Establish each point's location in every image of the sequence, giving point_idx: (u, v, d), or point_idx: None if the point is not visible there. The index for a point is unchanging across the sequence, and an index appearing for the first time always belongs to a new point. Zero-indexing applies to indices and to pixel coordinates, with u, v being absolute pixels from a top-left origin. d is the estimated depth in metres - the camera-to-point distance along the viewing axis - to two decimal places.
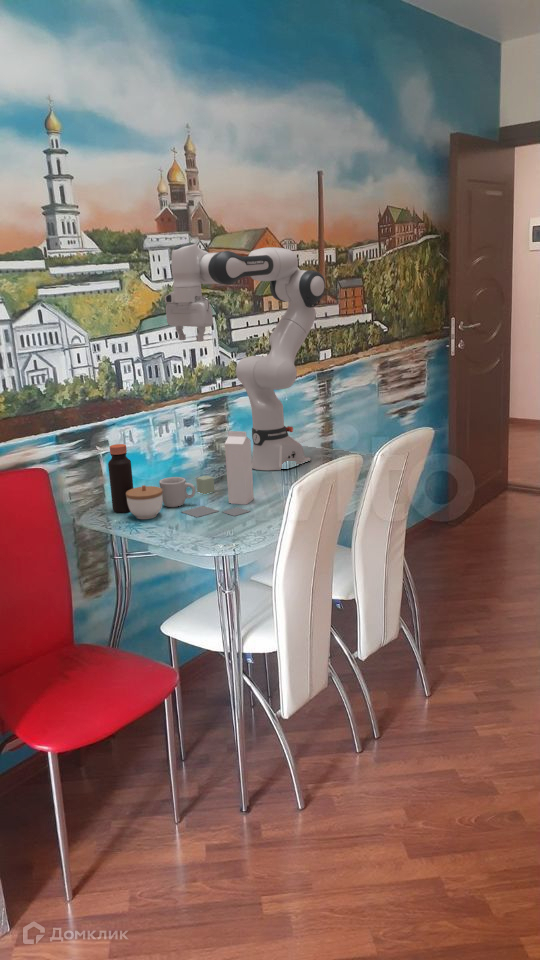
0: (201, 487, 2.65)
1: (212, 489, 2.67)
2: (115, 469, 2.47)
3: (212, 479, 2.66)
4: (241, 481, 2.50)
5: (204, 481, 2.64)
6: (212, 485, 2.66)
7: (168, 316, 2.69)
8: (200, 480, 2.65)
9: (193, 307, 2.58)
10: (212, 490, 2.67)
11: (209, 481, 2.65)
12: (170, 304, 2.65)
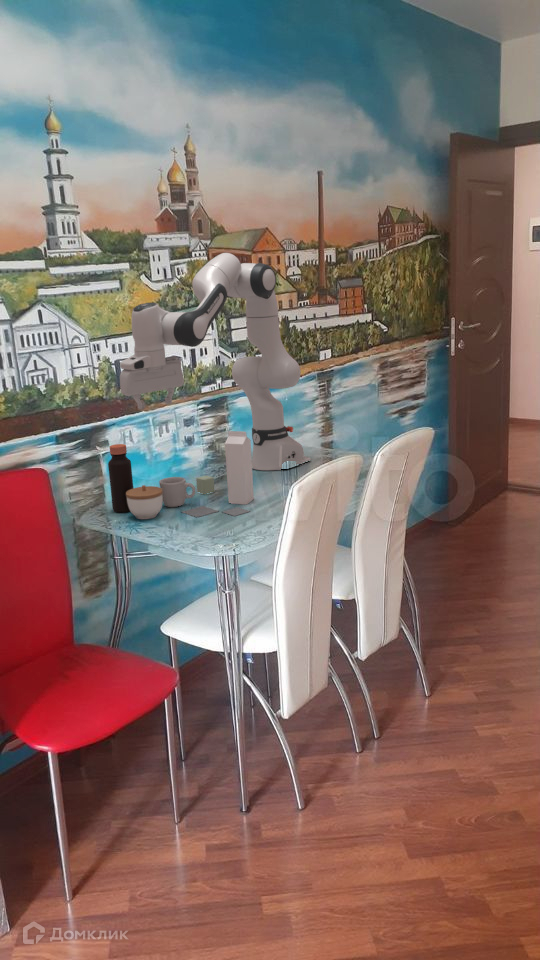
0: (201, 487, 2.65)
1: (212, 489, 2.67)
2: (115, 469, 2.47)
3: (212, 479, 2.66)
4: (241, 481, 2.50)
5: (204, 481, 2.64)
6: (212, 485, 2.66)
7: (130, 385, 2.39)
8: (200, 480, 2.65)
9: (168, 368, 2.46)
10: (212, 490, 2.67)
11: (209, 481, 2.65)
12: (138, 371, 2.39)
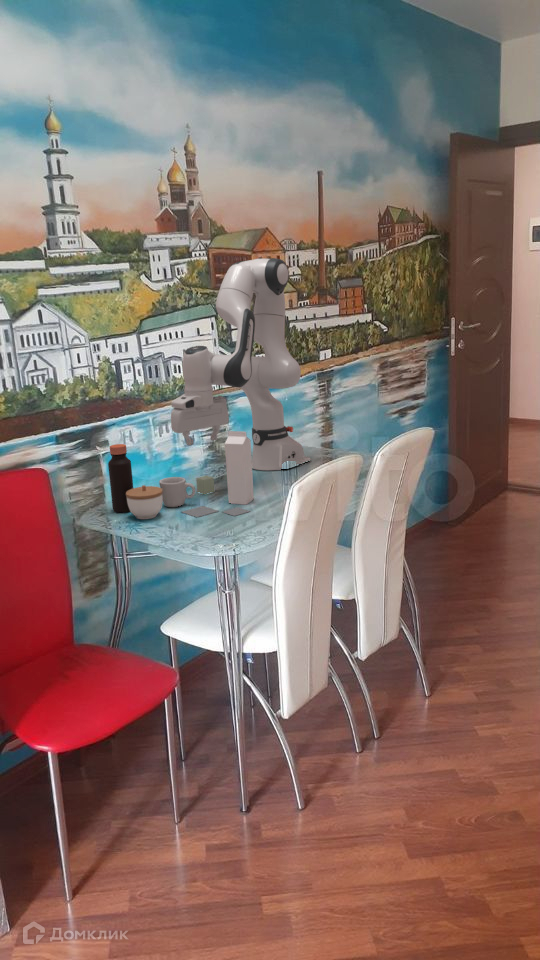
0: (201, 487, 2.65)
1: (212, 489, 2.67)
2: (115, 469, 2.47)
3: (212, 479, 2.66)
4: (241, 481, 2.50)
5: (204, 481, 2.64)
6: (212, 485, 2.66)
7: (181, 423, 2.55)
8: (200, 480, 2.65)
9: (215, 407, 2.62)
10: (212, 490, 2.67)
11: (209, 481, 2.65)
12: (189, 410, 2.55)
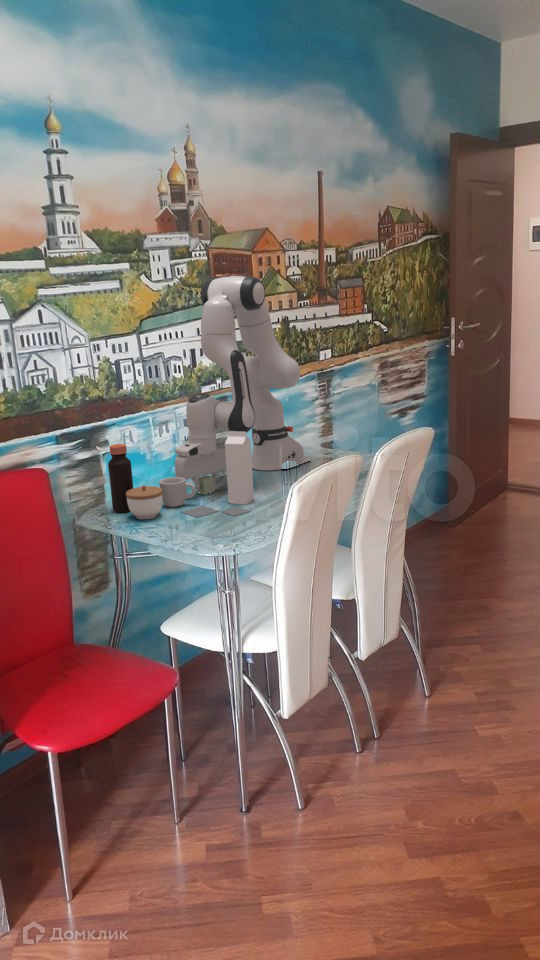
0: None
1: (212, 489, 2.67)
2: (115, 469, 2.47)
3: (212, 479, 2.66)
4: (241, 481, 2.50)
5: (204, 481, 2.64)
6: (212, 485, 2.66)
7: (185, 470, 2.58)
8: (200, 480, 2.65)
9: (219, 453, 2.66)
10: (212, 490, 2.67)
11: (209, 481, 2.65)
12: (192, 457, 2.59)
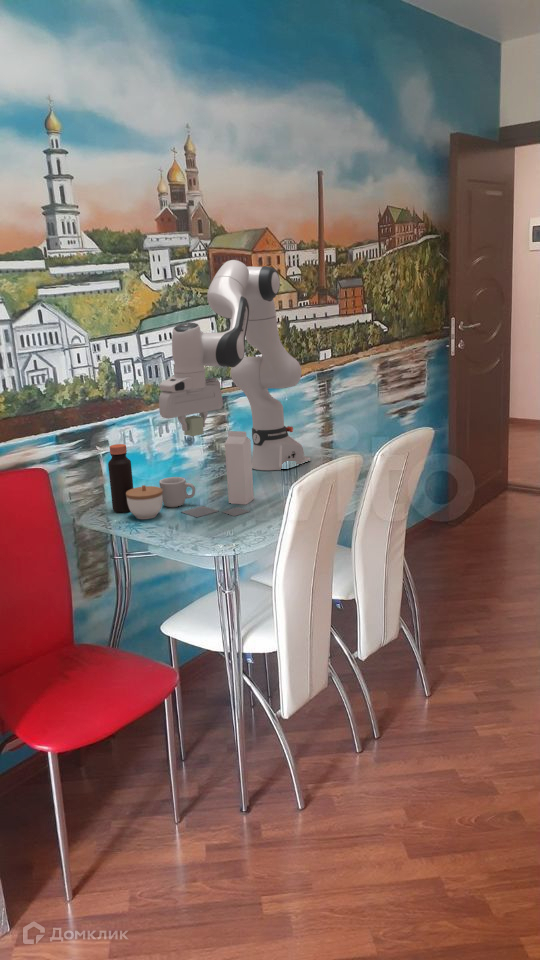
0: None
1: (201, 430, 2.40)
2: (115, 469, 2.47)
3: (201, 419, 2.39)
4: (241, 481, 2.50)
5: (192, 420, 2.37)
6: (201, 426, 2.40)
7: (170, 407, 2.32)
8: (187, 420, 2.38)
9: (208, 390, 2.40)
10: (201, 431, 2.40)
11: (197, 421, 2.39)
12: (178, 393, 2.32)
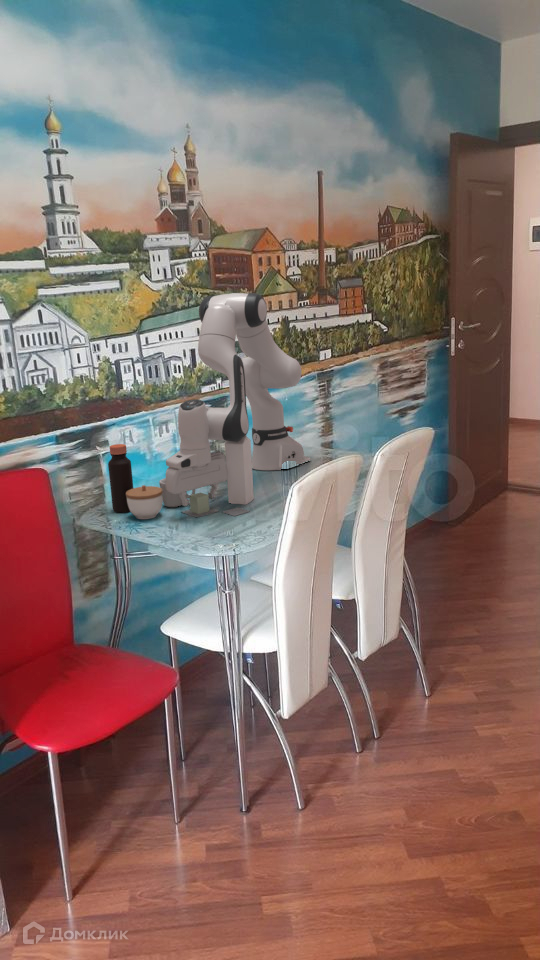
0: (195, 505, 2.45)
1: (206, 507, 2.46)
2: (115, 469, 2.47)
3: (206, 497, 2.45)
4: (241, 481, 2.50)
5: (198, 499, 2.43)
6: (206, 503, 2.46)
7: (177, 483, 2.38)
8: (193, 498, 2.44)
9: (213, 464, 2.45)
10: (206, 508, 2.46)
11: (203, 499, 2.45)
12: (184, 469, 2.38)
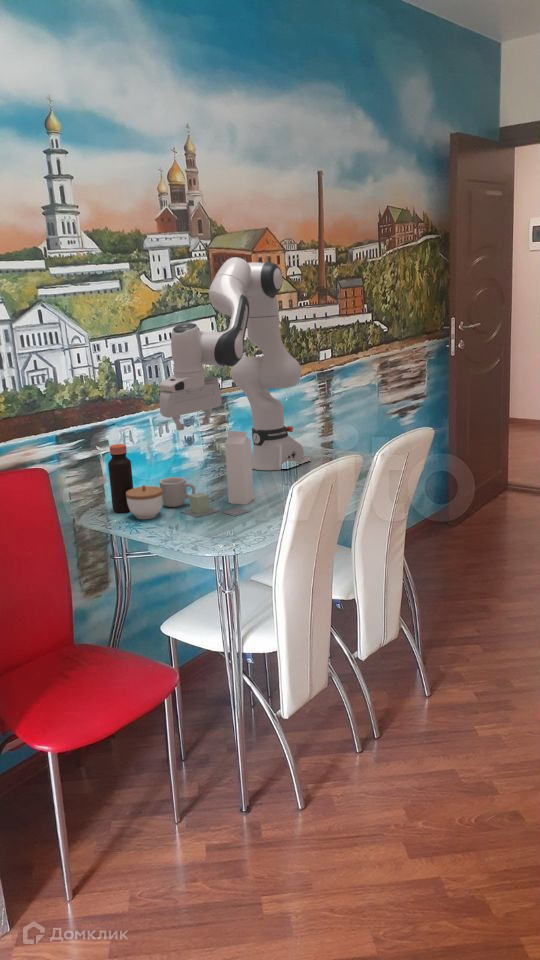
0: (195, 505, 2.45)
1: (206, 507, 2.46)
2: (115, 469, 2.47)
3: (206, 497, 2.45)
4: (241, 481, 2.50)
5: (198, 499, 2.43)
6: (206, 503, 2.46)
7: (171, 407, 2.37)
8: (193, 498, 2.44)
9: (207, 389, 2.45)
10: (206, 508, 2.46)
11: (203, 499, 2.45)
12: (178, 392, 2.37)
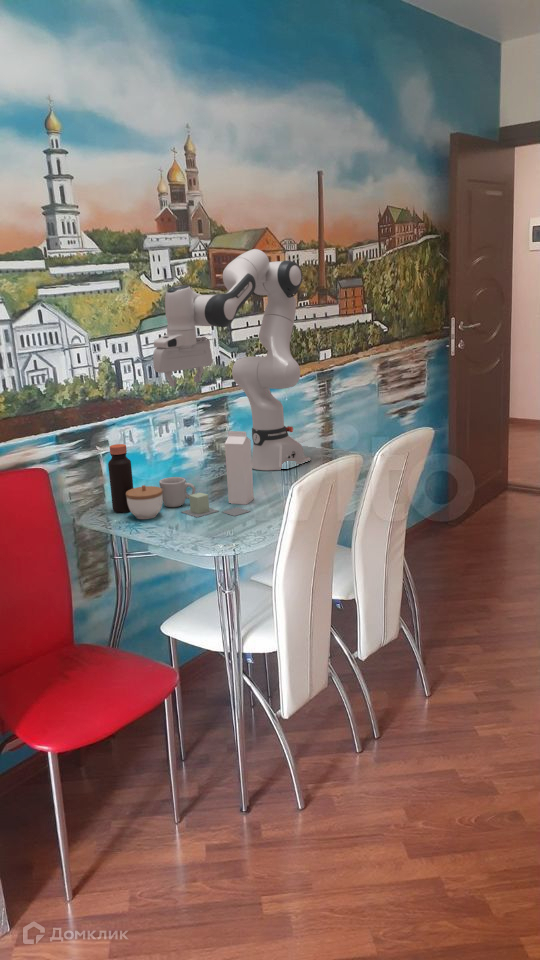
0: (195, 505, 2.45)
1: (206, 507, 2.46)
2: (115, 469, 2.47)
3: (206, 497, 2.45)
4: (241, 481, 2.50)
5: (198, 499, 2.43)
6: (206, 503, 2.46)
7: (163, 362, 2.52)
8: (193, 498, 2.44)
9: (199, 348, 2.59)
10: (206, 508, 2.46)
11: (203, 499, 2.45)
12: (171, 349, 2.52)
